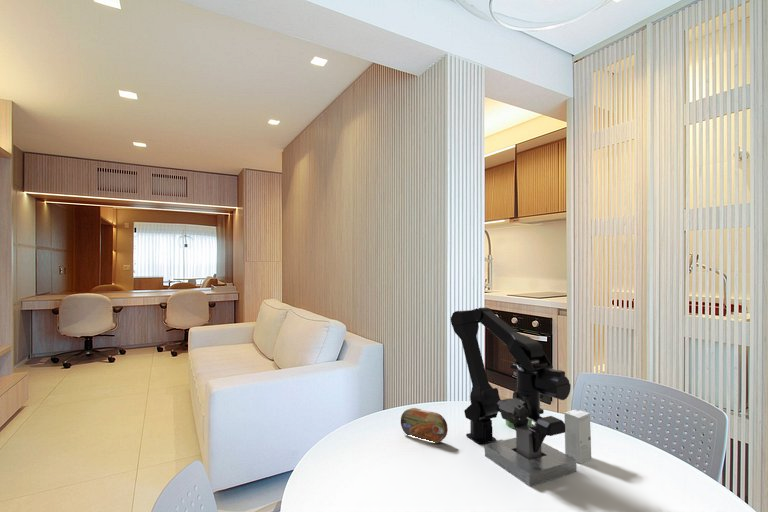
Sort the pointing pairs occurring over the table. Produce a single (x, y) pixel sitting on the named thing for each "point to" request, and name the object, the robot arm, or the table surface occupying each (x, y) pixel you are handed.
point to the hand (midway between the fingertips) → (528, 448)
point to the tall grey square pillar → (526, 443)
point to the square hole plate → (530, 462)
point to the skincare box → (578, 435)
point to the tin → (424, 424)
